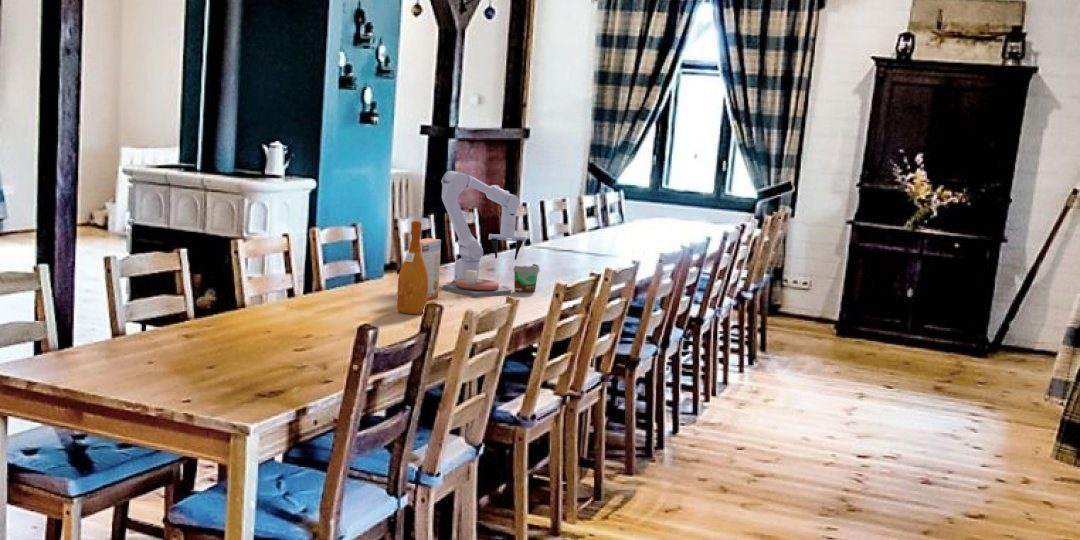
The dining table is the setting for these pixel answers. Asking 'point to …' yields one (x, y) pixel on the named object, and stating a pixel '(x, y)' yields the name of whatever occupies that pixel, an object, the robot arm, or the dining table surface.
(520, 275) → the food container
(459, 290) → the base plate
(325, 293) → the dining table surface
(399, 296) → the wine bottle
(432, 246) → the cracker box
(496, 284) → the handwheel
